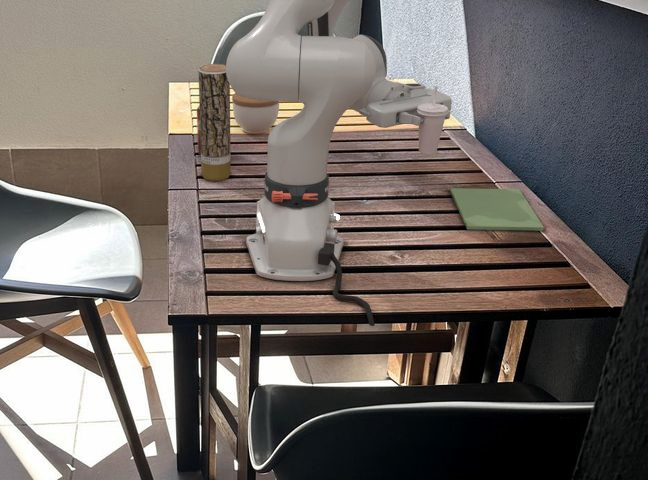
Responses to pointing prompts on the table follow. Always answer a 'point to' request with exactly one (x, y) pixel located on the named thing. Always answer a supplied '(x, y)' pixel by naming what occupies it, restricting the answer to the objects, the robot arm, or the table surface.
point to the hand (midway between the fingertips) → (434, 118)
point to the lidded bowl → (254, 114)
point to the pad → (495, 209)
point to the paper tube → (214, 122)
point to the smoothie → (431, 125)
